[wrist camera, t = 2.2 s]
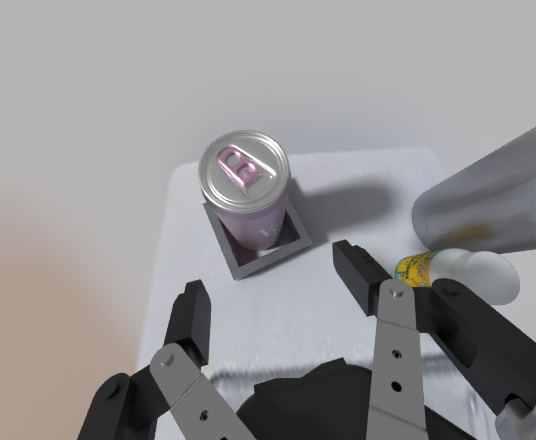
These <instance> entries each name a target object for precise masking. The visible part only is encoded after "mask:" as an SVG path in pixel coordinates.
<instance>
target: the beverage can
mask: <svg viewBox="0 0 536 440" xmlns="http://www.w3.org/2000/svg"><path fill="white" fill-rule="evenodd" d="M198 177H199V183H200V186H201V190H202V193H203V196H204V198H205V200H206V202H207V203H208V204H209V206H210V207H211V208H212V209H213V211H214V212H215V213H216V215H217V216H218V217H219V218H220V220H221V221H222V222H223V223H224V225H225V226H226V227H227V228H228V230H229V231H230V232H231V234H232V235H233V236H234V237H235V239H236V240H237V241H238V242H239V243H240V244H241V245H242V246H243V247H245V248H246V249H249V250H253V251H261V250H265V249H268V248H269V247H271V246H272V245H274V244H275V243H276V241H277V240H278V239H279V237H280V234H281V230H282V225H283V220H284V215H285V210H286V205H287V200H288V195H289V190H290V185H291V172H290V167H289V162H288V158H287V156H286V154H285V152H284V150H283V149H282V147H281V146H280V145H279V144H278V143H277V142H276V141H275V140H274V139H272V138H271V137H269V136H267V135H265V134H263V133H260V132H256V131H250V130H241V131H234V132H231V133H228V134H225V135H223V136H221V137H219V138H218V139H216V140H215V141H214V142H213V143H212V144H210V146H209V147H208V148H207V149H206V150H205V152H204V154H203V156H202V157H201V160H200V163H199V168H198Z"/></svg>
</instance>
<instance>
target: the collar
mask: <svg viewBox="0 0 536 440" xmlns="http://www.w3.org/2000/svg"><path fill="white" fill-rule="evenodd" d="M203 206H204V208H205V210H206V213H207V215H208V218H209V220H210V223H211V225H212V228H213V230H214V232H215V235H216V237H217V240H218V242H219V245H220V247H221V250H222V252H223V255H224V257H225V259H226V262H227V264H228V267H229V269H230V272H231V274H232V277H233V279H234V280H239V279H242V278H244V277H246V276H248V275H250V274H252V273H254V272H256V271H258V270H260V269H263V268H265V267H267V266H269V265H271V264H273V263H275V262H277V261H279V260H281V259H284V258H286V257H288V256H290V255H292V254H294V253H296V252H298V251H300V250H302V249H305V248H307V247H309V246H310V245H311V244H312V243H313V241H312V240H311V238H310V236H309V234H308V232H307V230H306V228H305V226H304V224H303V223H302V221H301V219H300V217H299V215H298V213H297V211H296V209H295V208H294V206H293V204H292V202H291V200H290V198H289V196H288V200H287V205H286V210H285V217H286V219H287V221H288V223H289V225H290V227H291V229H292V231H293V233H294V235H295V237H296V239H297V241H294V242H292V243H290V244H288V245H286V246H284V247H282V248H279V249H277V250H275V251H273V252H271V253H269V254H267V255H265V256H262V257H260V258H258V259H256V260H254V261H252V262H250V263H248V264H245V265H243V266H240V263H239V261H238V259H237V256H236V254H235V252H234V249H233V247H232V245H231V242H230V240H229V238H228V235H227V233H226V230H225V228H224V226H223V223H222V221H221V220H220V218H219V217H218V216H217V215H216V213H215V212H214V211H213V209H212V208H211V207H210V206H209V204H208V203H204V204H203Z"/></svg>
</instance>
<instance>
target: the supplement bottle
mask: <svg viewBox="0 0 536 440" xmlns="http://www.w3.org/2000/svg"><path fill="white" fill-rule="evenodd" d="M439 278H448V279H453V280H456V281H458V282H460V283H462V284H464V285H465V286H466V287H468V288H469V289H470V290H471V291H473V292H474V293H475V294H476V295H478V296H479V297H480V298H481V299H483V300H484V301H485V302H486V303H487V304H489V305H505V304H508V303H510V302H512V301H513V300H514V299H515V298H516V297H517V295H518V293H519V289H520V282H519V277H518V274H517V272H516V271H515V269H514V267H513V266H512V265H511V264H510V263H509V261H507V260H506V259H505V258H503V257H502V256H500V255H498V254H496V253H493V252H489V251H480V252H470V251H468V250H464V249H457V248H452V249H445V250H441V251H436V252H431V253H426V254H421V255H416V256H411V257H407V258H404V259H402V260H400V261H399V262H398V263H397V264H396V265H395V267H394V270H393V279H397V280H401V281H403V282H405V283H407V284H408V285H410V286H411V287H431V286H432V283H433V281H434V280H436V279H439Z"/></svg>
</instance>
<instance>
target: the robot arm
mask: <svg viewBox="0 0 536 440" xmlns="http://www.w3.org/2000/svg"><path fill="white" fill-rule="evenodd" d="M412 223H413V226H414V229H415V231H416V233H417V235H418V237H419V238H420V239H421V240H422V242H423V243H424V244H425V245H426V246H427V247H429V248H430V249H431V250H432V251H434V252H436V251H441V250H445V249H452V248H457V249H464V250H468V251H470V252H480V251H489V252H493V253H496V254H503V253H511V252H518V251H526V250H534V249H536V127H535V128H533V129H531V130H530V131H528V132H526V133H524V134H523V135H521V136H519V137H518V138H516V139H514V140H512V141H511V142H509V143H507V144H506V145H504V146H502V147H501V148H499V149H497V150H495V151H494V152H492V153H490V154H489V155H487V156H485V157H484V158H482V159H480V160H479V161H477V162H475V163H474V164H472V165H470V166H469V167H467V168H465V169H463V170H462V171H460V172H458V173H456V174H455V175H453V176H451V177H450V178H448V179H446V180H444V181H443V182H441V183H439V184H438V185H436V186H434V187H433V188H431V189H429V190H427V191H426V192H424V193H423V194H422V195H420V196H419V197H418V199H417V200H416V201H415V204H414V206H413V210H412ZM332 248H333V263H334V267H335V269H336V271H337V273H338V275H339V276H340V277H341V279H342V280H343V282H344V283H345V285H346V286H347V288H348V289H349V291H350V292H351V294H352V295H353V297H354V298H355V299H356V301H357V302H358V304H359V305H360V307H361V308H362V310H363V311H364V313H365V314H366V316H367V317H369V316H372V315H375V317H376V318H377V326H376V336H375V347H374V358H373V369H372V371H371V370H369V369H367V368H364V367H362V366H358V365H352V364H346V362H345V360H344V358H343V357H342V358H339V359H336V360H333V361H329V362H326V363H323V364H321V365H319V366H318V367H316V368H315V369H313V370H312V371H311V372H309V373H308V374H306V375H305V376H303V377H301V378H275V379H272V380H269V381H266V382H263V383H260V384H256V385H254V392H255V393H254V394H253V395H251V396H250V397H249V398H248V399H247V400H246V401H245V402H244V403H243V404H242V405H241V407H240V408H239V409H238V411H237V412H236V414H235V412H234V411H233V410H232V409H231V407H230V406H229V405H228V404H227V402H226V401H225V400H224V399H223V398H222V396H221V395H220V394H219V393H218V391H217V390H216V389H215V388H214V386H213V385H212V384H211V383H210V381H209V380H208V379H207V378H206V376H205V375H204V374H203V373H201V367H202V366H205V365H208V359H209V340H210V322H211V301H210V298H209V295H208V293H207V291H206V289H205V287H204V285H203V283H202V281H201V280H200V279H199V280H195V281H192V282H188V283H186V287H185V292H184V293H183V294H179V295H178V297H177V299H176V300H175V302H174V304H173V308H172V313H171V316H170V320H169V324H168V328H167V332H166V336H165V340H164V345H163V347H162V348H161V349H160V350H158V351H157V353H156V354H155V355H154V356H153V358H152V360H151V363H150V364H149V365H148V366H147V367H145V368H143V369H142V370H140V371H138V372H137V373H135V374H133V375H132V376H130V377H129V376H128V375H127V374H125V373H119V374H116V375H114V376H112V377H110V378H109V379H108V380H107V381H105V382H104V383H103V384H102V386H101V387H100V388H99V389H98V391H97V392H96V394H95V396H94V398H93V400H92V403H91V405H90V408H89V410H88V413H87V416H86V418H85V421H84V423H83V426H82V428H81V431H80V433H79V436H78V439H77V440H154V438H155V432H156V426H157V419H158V417H160V416H161V415H163V414H164V413H165V412H167V411H168V410H170V412H171V414H172V415H173V417H174V419H175V421H176V423H177V424H178V426H179V428H180V430H181V431H182V433H183V435H184V437H185V439H186V440H477V439H476V438H474V437H472V436H471V435H469V434H468V433H466V432H465V431H463V430H462V429H460V428H459V427H457V426H456V425H454V424H453V423H451V422H450V421H448V420H447V419H445V418H444V417H442V416H441V415H439V414H438V413H436V412H435V411H433V410H431V409H430V408H428V407H427V406H425V405H424V394H423V380H422V366H421V351H420V337H419V333H429V335H430V336H431V337H432V338H433V340H434V341H435V342H436V343H437V344H438V346H439V347H440V348H441V349H442V351H443V352H444V353H445V354H446V355H447V357H448V358H449V359H450V360H451V361H452V363H453V364H454V365H455V366H456V368H457V369H458V370H459V371H460V372H461V374H462V375H463V376H464V377H465V379H466V380H467V381H468V382H469V383H470V385H471V386H472V387H473V388H474V389H475V391H476V392H477V393H478V394H479V396H480V397H481V398H482V399H483V400H484V402H485V403H486V404H487V405H488V407H489V408H490V409H491V410H492V411H493V413H494V414H495V415H496V416H497V418H496V420H495V427H496V431H497V434H498V436H499V438H500V439H501V440H536V342H534V341H533V340H532V339H531V338H529V337H528V336H527V335H526V334H524V333H523V332H522V331H521V330H519V329H518V328H517V327H516V326H515V325H513V324H512V323H511V322H510V321H508V320H507V319H506V318H505V317H503V316H502V315H501V314H500V313H498V312H497V311H496V310H495V309H494V308H492V307H491V306H490V305H489V304H487V303H486V302H485V301H484V300H483V299H481V298H480V297H479V296H478V295H476V294H475V293H474V292H473V291H471V290H470V289H469V288H468V287H466V286H465V285H464V284H462V283H460V282H458V281H456V280H453V279H448V278H439V279H436V280H434V281H433V283H432V286H431V287H411V286H410V285H408V284H407V283H405V282H403V281H401V280H397V279H393V278H392V277H391V276H390V275H389V274H388V273H387V272H386V271H385V270H384V269H383V268H382V267H381V266H380V264H379V263H378V262H377V261H375V259H374V258H373V257H372V256H370V254H369V253H368V252H367V251H366V250H365V249H363V248H361V247H359V246H357V245H355V246H351V245H350V243H349V242H348V241H347V240H341V241H337V242H334V243H333V244H332Z"/></svg>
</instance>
